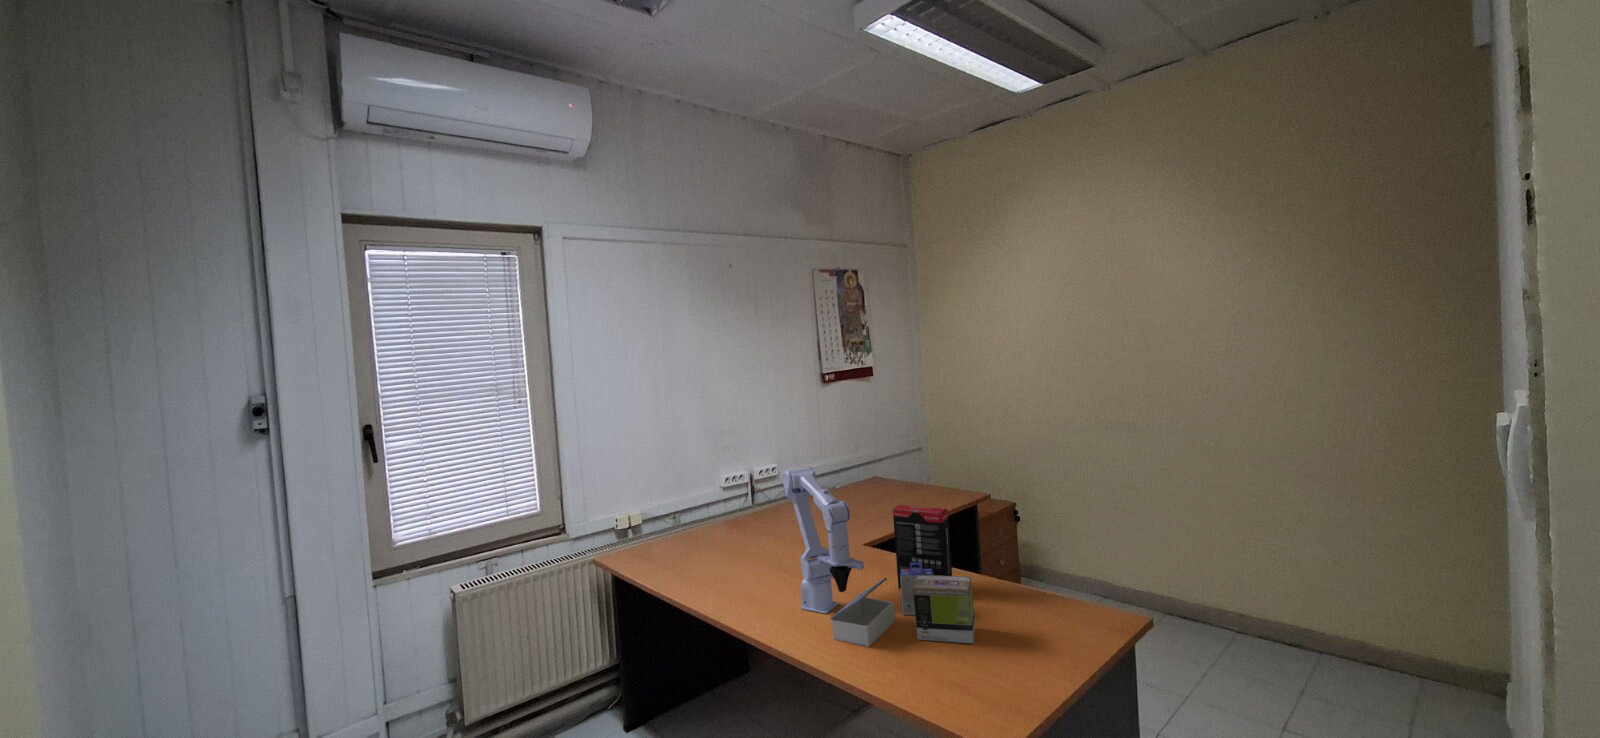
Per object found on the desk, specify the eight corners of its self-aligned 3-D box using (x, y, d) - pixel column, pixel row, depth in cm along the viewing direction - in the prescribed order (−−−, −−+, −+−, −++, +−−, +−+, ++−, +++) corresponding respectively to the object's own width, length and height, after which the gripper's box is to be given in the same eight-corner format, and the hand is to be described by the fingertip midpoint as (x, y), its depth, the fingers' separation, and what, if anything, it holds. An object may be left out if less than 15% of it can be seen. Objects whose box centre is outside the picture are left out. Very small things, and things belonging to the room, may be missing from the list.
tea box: (975, 627, 168) (971, 575, 167) (973, 645, 158) (969, 590, 158) (921, 623, 173) (917, 573, 172) (916, 640, 163) (912, 587, 163)
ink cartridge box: (936, 607, 182) (932, 560, 182) (936, 615, 177) (932, 567, 176) (903, 607, 184) (899, 560, 184) (902, 615, 179) (898, 567, 178)
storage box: (833, 639, 168) (831, 619, 167) (862, 614, 182) (860, 596, 181) (868, 647, 161) (866, 627, 161) (895, 620, 176) (893, 602, 175)
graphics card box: (955, 590, 193) (948, 506, 192) (948, 598, 187) (941, 512, 187) (905, 583, 202) (899, 503, 202) (897, 591, 197) (890, 508, 196)
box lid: (831, 620, 167) (829, 617, 168) (860, 596, 182) (859, 593, 182) (859, 602, 162) (857, 599, 162) (887, 579, 176) (885, 576, 177)
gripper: (810, 546, 175) (814, 592, 175) (854, 551, 167) (858, 599, 167) (823, 538, 181) (826, 583, 181) (865, 543, 173) (869, 590, 173)
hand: (842, 590), depth 175 cm, fingers closed
